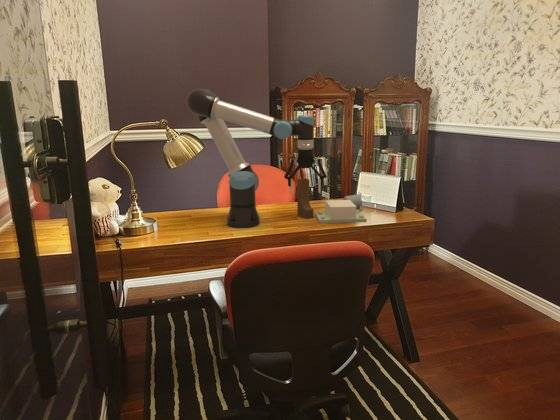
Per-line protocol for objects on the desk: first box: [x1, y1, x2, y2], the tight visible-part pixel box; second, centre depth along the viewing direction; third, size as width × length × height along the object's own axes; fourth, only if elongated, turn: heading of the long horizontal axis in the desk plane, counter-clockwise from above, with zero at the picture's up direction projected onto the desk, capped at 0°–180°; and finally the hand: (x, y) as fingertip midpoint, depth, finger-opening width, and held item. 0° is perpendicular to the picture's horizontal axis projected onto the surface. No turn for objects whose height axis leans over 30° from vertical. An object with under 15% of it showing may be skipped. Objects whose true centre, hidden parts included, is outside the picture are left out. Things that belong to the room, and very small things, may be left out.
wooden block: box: [296, 177, 314, 220], centre depth 215 cm, size 9×4×18 cm, turn 23°
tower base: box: [314, 199, 368, 224], centre depth 212 cm, size 22×14×8 cm, turn 94°
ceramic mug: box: [342, 194, 363, 213], centre depth 228 cm, size 11×8×8 cm
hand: (305, 192), depth 215 cm, fingers open, 13 cm apart
